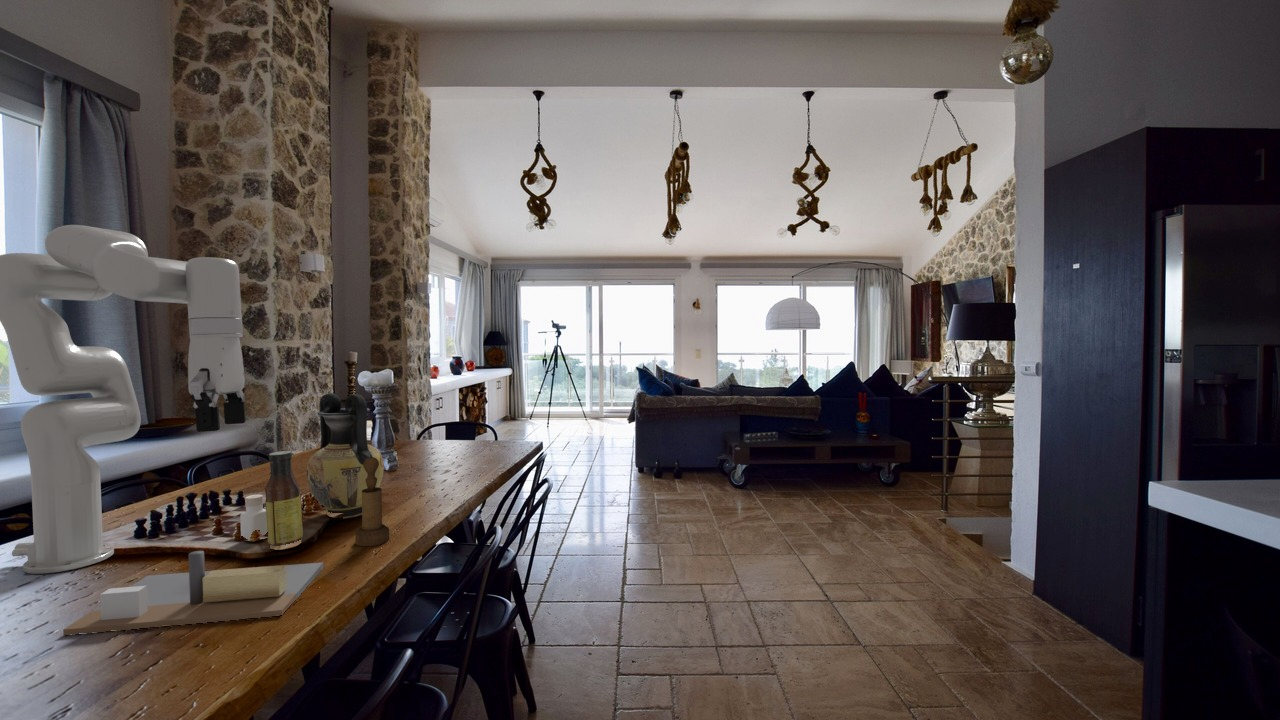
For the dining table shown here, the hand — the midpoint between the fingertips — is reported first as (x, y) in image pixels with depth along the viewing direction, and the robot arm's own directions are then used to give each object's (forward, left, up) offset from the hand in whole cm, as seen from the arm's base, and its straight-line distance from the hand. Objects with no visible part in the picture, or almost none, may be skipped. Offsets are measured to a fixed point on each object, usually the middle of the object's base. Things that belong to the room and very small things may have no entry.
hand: (222, 427), depth 101 cm
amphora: (+9, +40, -28) cm, 50 cm away
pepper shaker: (-5, +24, -28) cm, 37 cm away
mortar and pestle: (+20, +18, -28) cm, 39 cm away
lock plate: (0, -5, -28) cm, 28 cm away
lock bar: (+7, -9, -27) cm, 29 cm away
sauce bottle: (+3, +18, -28) cm, 33 cm away
